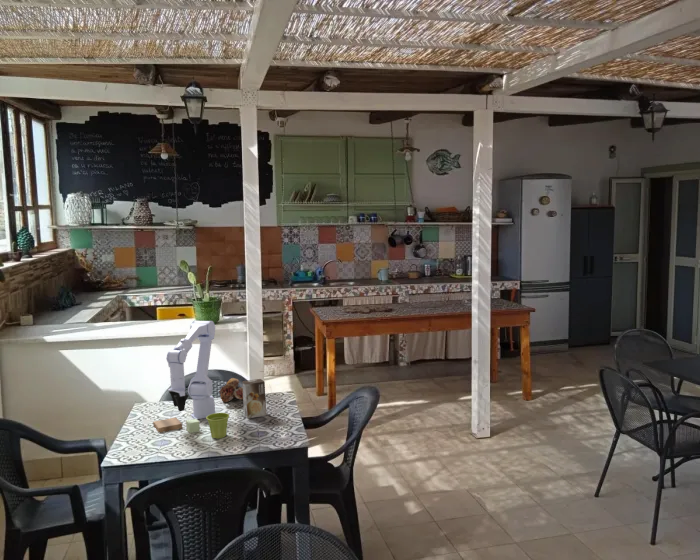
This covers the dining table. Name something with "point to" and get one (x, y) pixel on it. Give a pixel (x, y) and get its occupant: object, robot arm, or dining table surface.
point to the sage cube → (192, 425)
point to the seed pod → (231, 390)
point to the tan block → (167, 424)
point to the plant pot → (218, 424)
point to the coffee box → (254, 398)
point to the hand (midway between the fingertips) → (179, 408)
